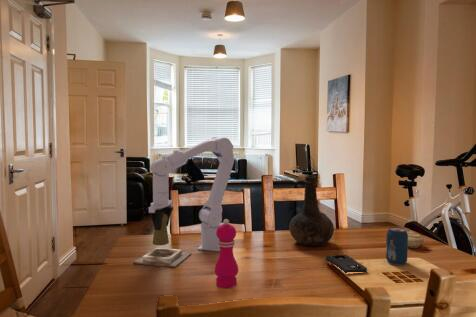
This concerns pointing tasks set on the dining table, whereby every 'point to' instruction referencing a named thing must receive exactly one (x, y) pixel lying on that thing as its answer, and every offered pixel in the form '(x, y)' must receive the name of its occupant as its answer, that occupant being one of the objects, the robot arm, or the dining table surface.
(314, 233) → the dark bottle vase
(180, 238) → the dining table surface
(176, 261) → the collar board
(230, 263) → the pepper mill
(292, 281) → the dining table surface
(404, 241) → the soda can
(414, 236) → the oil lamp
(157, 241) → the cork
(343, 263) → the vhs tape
